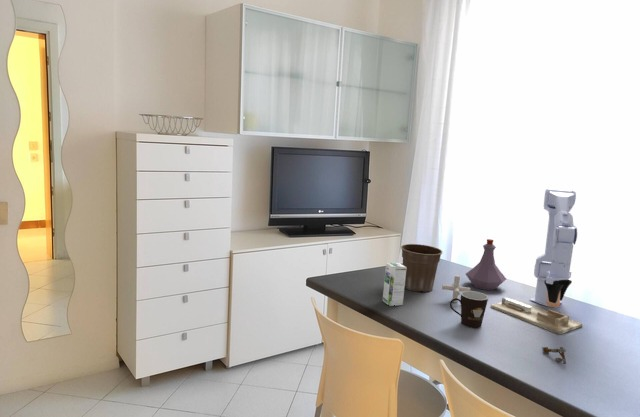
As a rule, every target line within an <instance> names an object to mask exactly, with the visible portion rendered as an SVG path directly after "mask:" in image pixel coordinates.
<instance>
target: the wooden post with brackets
mask: <svg viewBox="0 0 640 417" xmlns="http://www.w3.org/2000/svg"><path fill="white" fill-rule="evenodd" d="M541 349H542V353H543V354H549V353H558V354H559V355H560V356H561V357H555V362H559V363H560V362H562V364H563V365H567V359H566V356H565V353H566V351H567V349H565V348H564V347H562V346H560V347H559V348H549V346H542V347H541Z"/></svg>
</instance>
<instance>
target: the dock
mask: <svg viewBox="0 0 640 417" xmlns="http://www.w3.org/2000/svg"><path fill="white" fill-rule="evenodd" d="M511 299H512V300H515V301H517V302H520V303H523V304H526V305H528V306H531V307H532V308H531V312H530V313H526V312H524V311H522V309H520V308H517V307H515V306H512V305H510V304H506V305H505V304H502V301H500V302H496V303H492V304H490V308H491V309H494V310H497V311H499V312H502V313H503V314H504V313H505V314H507V315H509V316H512V317H514V318H517V319H519V320H522V321H524V322H527V323H529V324H531V325H534V326H537V327H540V328H542V329H543V330H544V329H545V330H547V331H550V332H552V333H555V334H557V335H562V334H565V333H568V332H571V331H574V330H577V329H579V328H581V327H583V323H581V322H579V321H576V320H572V319H570V315H567V314H564V313H561V312H558V311H555V310H552V309H551V308H550V309H549V308H548V309H547V310H545V309H543V308H540V307H538V306H535V305H532V304H529V303H526V302H523V301H521V300H518V299H515V298H511Z"/></svg>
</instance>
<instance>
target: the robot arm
mask: <svg viewBox="0 0 640 417" xmlns="http://www.w3.org/2000/svg"><path fill="white" fill-rule="evenodd" d="M576 199H577V192H576V191H575V190H574V189H558V188H550V187H547V188H546V189H545V192H544V200H543V209H544V210H545V211H547V212H548V224H547V230H546V231H547V232H546V233H547V234H546V241H545V248H544V250H545V251H544V253H543V254H541V255H539V256H537V257H536V258H535V264H534V273H533V276H534V277H535V278H537V279H536V287H535V294H534V297H532V298H529V301H531V302H534V303H536V304H540V305H541V306H542V305H543V306H545V307H548V308H549V306H547V305H546V302H547V291H548V299H549V302H552V303H556V302H557V299H558V295H559V292H560V304H562V303H563V302H562V300H563V299H564V296H565V294H566V292H567V290H568V288H569V287H570V285H571V284H572V280H570V278H571V277H572V272H571V264H572V257H573V250H574V245H576V243H577V240H578V228H577V227H576V225H574V217H573V215H572V213H570V212H571V210H572V209H573V208H574V205H575V203H576ZM560 290H561V291H560Z"/></svg>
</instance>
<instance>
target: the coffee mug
mask: <svg viewBox="0 0 640 417" xmlns="http://www.w3.org/2000/svg"><path fill="white" fill-rule="evenodd" d="M455 300H457V302H458V301H459V303H460V312H459V311H457V310H455V309H454V307H453V306H452V304H453V303H454V302H453V301H455ZM488 301H489V296H488V295H487V294H485V293H482V292H479V291H474V290H470V291H463V292H460V298H455V299H451V300H450V301H449V307H450V308H451V310H452V311H453V312H454V313H456V314H457V315H458V316H460V323H461V325H462V326H464V327H467V328H470V329H480V328H481V327H482V324H483V320H484V317H485V313H486V309H487V305H488Z"/></svg>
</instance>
